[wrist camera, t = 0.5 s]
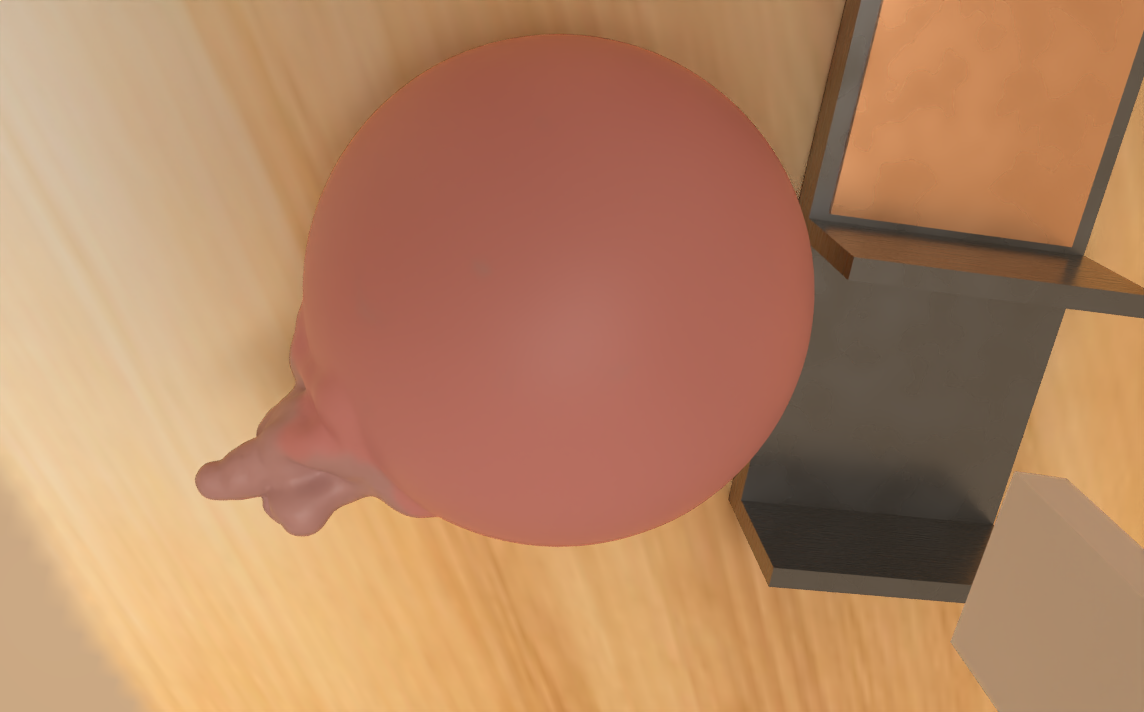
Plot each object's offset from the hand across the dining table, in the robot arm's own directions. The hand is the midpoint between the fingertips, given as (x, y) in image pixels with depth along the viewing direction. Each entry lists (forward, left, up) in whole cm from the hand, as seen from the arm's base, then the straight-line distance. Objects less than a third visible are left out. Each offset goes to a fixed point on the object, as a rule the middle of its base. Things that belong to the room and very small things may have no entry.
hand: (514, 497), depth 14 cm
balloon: (+5, +1, -28) cm, 28 cm away
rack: (+2, +18, -27) cm, 33 cm away
